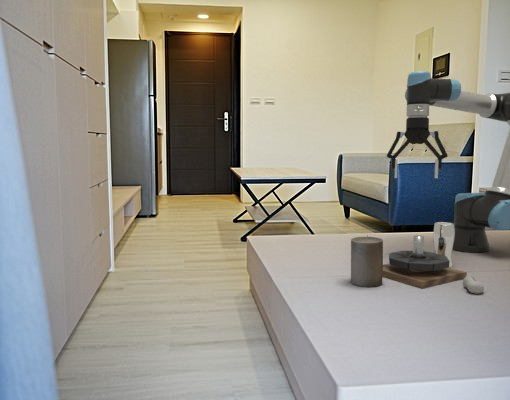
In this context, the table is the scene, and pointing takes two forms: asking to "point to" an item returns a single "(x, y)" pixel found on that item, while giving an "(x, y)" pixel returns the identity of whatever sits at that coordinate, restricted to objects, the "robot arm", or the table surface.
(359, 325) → the table surface
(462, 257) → the table surface
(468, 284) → the smooth white sculpture
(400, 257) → the dark grey faceted disc
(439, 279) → the walnut base
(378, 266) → the pillar candle
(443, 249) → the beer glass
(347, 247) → the table surface
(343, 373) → the table surface
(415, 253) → the steel post
